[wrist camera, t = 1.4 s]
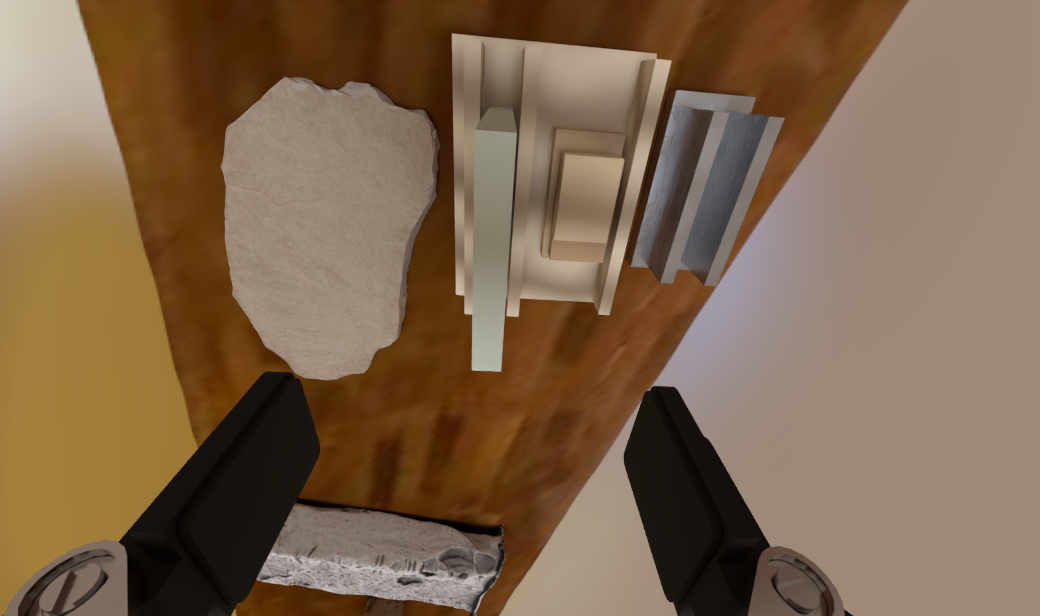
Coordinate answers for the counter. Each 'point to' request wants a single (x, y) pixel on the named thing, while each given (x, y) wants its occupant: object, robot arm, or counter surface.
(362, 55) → the counter surface
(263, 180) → the stone tablet
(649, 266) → the stand
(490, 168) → the grey-green panel
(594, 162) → the offcut stack
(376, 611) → the block
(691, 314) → the counter surface
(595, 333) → the counter surface
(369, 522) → the concrete block
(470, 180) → the rack
